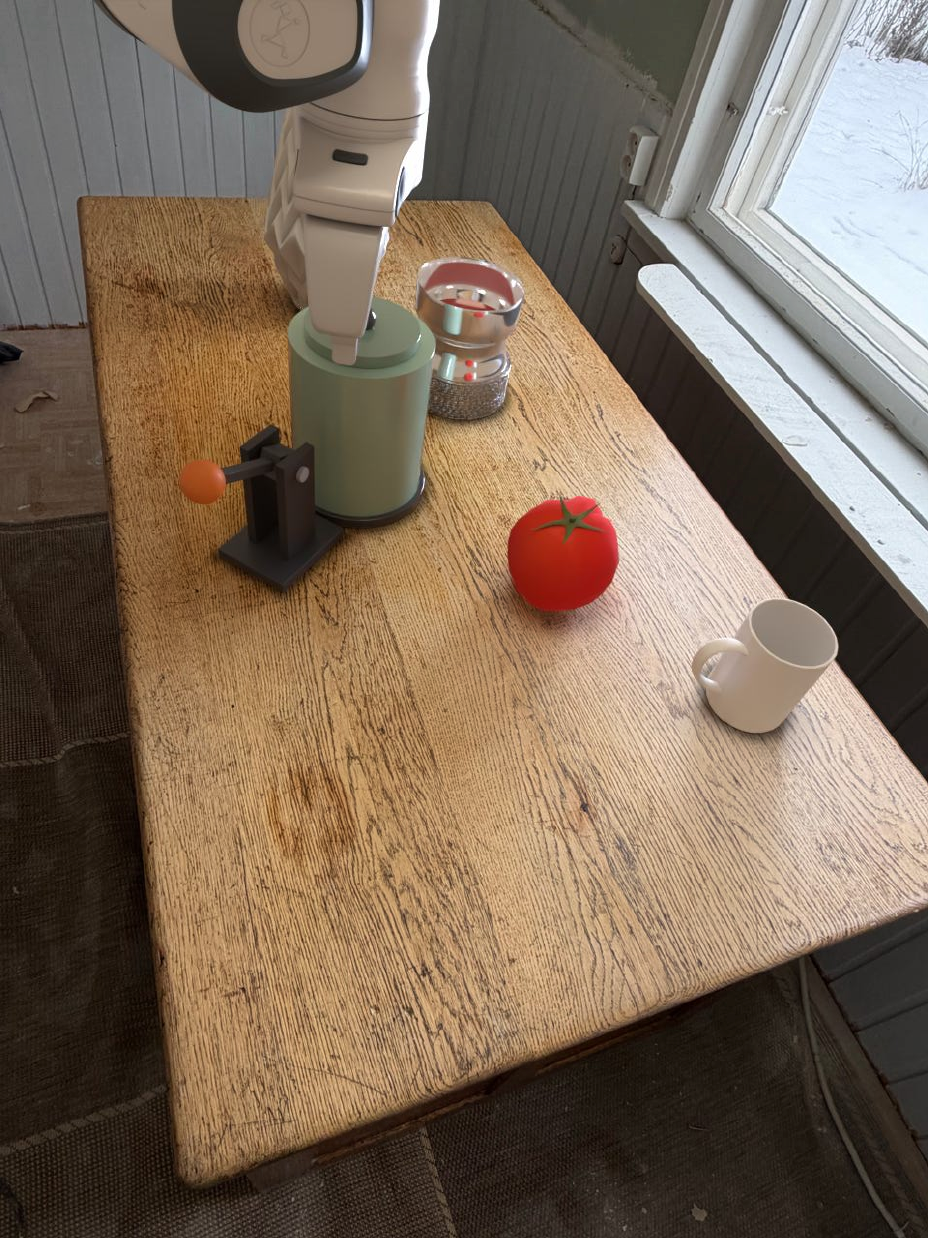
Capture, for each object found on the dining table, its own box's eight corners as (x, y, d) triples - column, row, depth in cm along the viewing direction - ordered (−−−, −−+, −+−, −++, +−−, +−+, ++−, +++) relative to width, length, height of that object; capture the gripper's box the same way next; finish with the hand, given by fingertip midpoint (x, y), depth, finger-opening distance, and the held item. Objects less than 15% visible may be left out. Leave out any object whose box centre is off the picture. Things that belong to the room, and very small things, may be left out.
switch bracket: (283, 593, 76) (277, 493, 66) (218, 557, 78) (203, 454, 68) (343, 536, 82) (346, 437, 72) (282, 504, 84) (277, 403, 74)
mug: (761, 663, 78) (810, 594, 70) (798, 729, 74) (855, 664, 66) (651, 674, 76) (690, 604, 68) (683, 745, 71) (728, 678, 63)
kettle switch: (201, 516, 62) (208, 474, 60) (166, 496, 63) (172, 455, 61) (298, 484, 73) (307, 449, 71) (268, 469, 74) (275, 433, 72)
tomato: (619, 571, 84) (650, 500, 76) (579, 650, 76) (608, 579, 69) (526, 530, 86) (546, 457, 79) (478, 602, 78) (495, 529, 71)
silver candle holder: (416, 421, 96) (428, 311, 85) (391, 341, 107) (399, 234, 96) (515, 419, 100) (539, 312, 88) (481, 341, 110) (499, 238, 99)
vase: (358, 348, 105) (369, 61, 80) (245, 314, 107) (222, 22, 82) (402, 295, 116) (423, 27, 91) (299, 264, 117) (292, -7, 92)
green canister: (374, 549, 81) (386, 372, 65) (258, 488, 85) (243, 306, 69) (448, 475, 90) (474, 305, 75) (341, 423, 94) (344, 250, 78)
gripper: (335, 84, 60) (331, 261, 70) (287, 195, 46) (291, 392, 57) (417, 99, 60) (401, 272, 71) (392, 213, 47) (377, 405, 58)
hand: (352, 327), depth 64 cm, fingers open, 8 cm apart
